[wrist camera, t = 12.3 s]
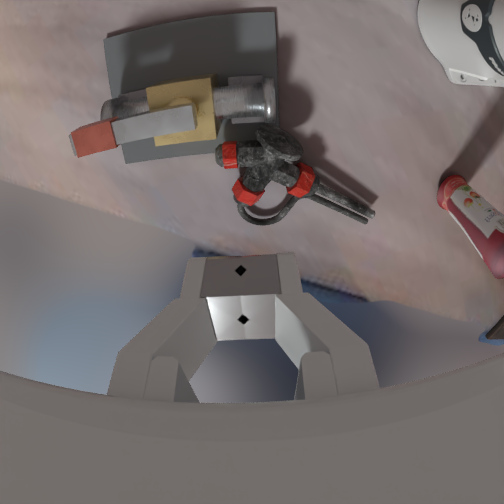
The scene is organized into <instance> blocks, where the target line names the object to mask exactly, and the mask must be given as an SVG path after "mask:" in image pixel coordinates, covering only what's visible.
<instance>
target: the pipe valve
mask: <svg viewBox="0 0 504 504" xmlns="http://www.w3.org/2000/svg"><path fill="white" fill-rule="evenodd" d="M228 84H229V86H224V87H218V81H217V73H215V74H206V75H198V76H190V77H183V78H177V79H171V80H165V81H161V82H159V83H156V84H154V85H152V86H149V87H147V88H142V89H138V90H133V91H129V92H124V93H122V94H120V95H118V98H114V99H110V100H107V101H105V102H104V104H103V106H102V109H101V120H104V119H108V118H112V117H115V116H118V118H121V117H125V116H129V115H133V114H137V113H141V112H146V111H150V110H155V109H160V108H164V107H170V106H175V105H180V104H186V103H192V102H194V103H195V109H196V115H197V121H198V126H197V128H196V129H195V130H190V131H184V132H178V133H172V134H166V135H161V136H155V137H154V140H155V146H162V145H169V144H177V143H185V142H194V141H203V140H214V139H217V136H218V133H219V130H220V127H221V119H231V120H232V124H237V123H253V122H264V123H275V121H276V99H275V87H274V80H273V77H262V74H249V75H234V76H229V77H228Z"/></svg>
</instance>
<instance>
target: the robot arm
mask: <svg viewBox="0 0 504 504" xmlns="http://www.w3.org/2000/svg"><path fill="white" fill-rule="evenodd" d="M417 15H418V24H419V28H420V31H421V34H422V37H423V39H424V41H425V43H426V45H427V46H428V48H429V50H430V51H431V52H432V54H433V55H434V56H435V57H436V58H437V59H438V60H439V61H440V63H441V64H442V65H443V67H444V69H445V72H446V74H447V76H448V78H449V80H450V81H451V82H452V83H454V84H467V85H484V86H497V87H504V0H420V1H419V4H418V12H417ZM461 75H462V78H461V77H460V76H461ZM267 338H268V339H270V338H275V339H276V341H277V342H278V343H279V345H280V346H281V347H282V348H283V350H284V351H285V352H286V354H287V355H288V356H289V358H290V359H291V360H292V361H293V363H294V364H295V365H296V366H297V368H298V369H299V374H298V380H297V387H296V393H295V398H294V400H292V401H278V402H261V403H200V402H199V400H198V398H197V397H196V395H195V393H194V391H193V389H192V387H191V385H190V383H189V380H190V379H191V378H192V376H193V375H194V373H195V372H196V371H197V369H198V368H199V366H200V365H201V364H202V362H203V361H204V359H205V358H206V357H207V355H208V354H209V353H210V351H211V350H212V348H213V347H214V346H215V344H216V343H217V341H221V340H240V339H267ZM0 504H504V353H502V354H500V355H497V356H495V357H492V358H489V359H486V360H484V361H481V362H478V363H475V364H472V365H469V366H466V367H463V368H460V369H456V370H453V371H450V372H447V373H443V374H440V375H436V376H432V377H428V378H424V379H421V380H417V381H412V382H408V383H404V384H400V385H395V386H391V387H385V388H380V387H379V383H378V380H377V376H376V372H375V368H374V365H373V361H372V358H371V354H370V351H369V347H368V344H367V343H365V342H364V341H363V340H362V339H361V338H360V337H359V336H357V335H356V334H355V333H354V332H353V331H352V330H351V329H349V328H348V327H347V326H346V325H345V324H344V323H343V322H341V321H340V320H339V319H338V318H337V317H336V316H334V315H333V314H332V313H331V312H330V311H329V310H327V309H326V308H325V307H324V306H323V305H322V304H321V303H319V302H318V301H317V300H316V299H315V298H314V297H313V296H311V295H310V294H309V293H303V291H302V286H301V281H300V276H299V271H298V266H297V261H296V256H295V253H294V252H288V253H276V254H267V255H251V256H223V257H200V258H190V259H189V260H188V263H187V267H186V271H185V276H184V280H183V286H182V290H181V294H180V299H174V300H173V301H172V302H171V303H170V304H169V305H168V306H167V307H165V308H164V309H163V310H162V312H160V313H159V314H158V315H157V316H156V317H155V318H154V319H153V320H152V321H151V322H150V323H149V324H148V325H146V326H145V327H144V328H143V329H142V330H141V331H140V332H139V333H138V334H137V335H136V336H135V337H134V338H133V339H132V340H131V341H130V342H129V343H128V344H127V345H126V346H124V347H123V348H122V349H121V350H120V351H119V352H118V355H117V359H116V362H115V366H114V369H113V373H112V377H111V380H110V385H109V388H108V392H107V395H104V394H97V393H91V392H85V391H80V390H74V389H70V388H64V387H60V386H55V385H51V384H47V383H42V382H38V381H34V380H30V379H27V378H23V377H19V376H16V375H13V374H9V373H6V372H3V371H0Z"/></svg>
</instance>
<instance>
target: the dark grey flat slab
mask: <svg viewBox="0 0 504 504" xmlns="http://www.w3.org/2000/svg"><path fill="white" fill-rule="evenodd" d="M485 336H486V338H487V339H504V316H503V317H502V318H501V319H500V320H499V321H498V322H497V324H496V325H495V326H494V327H493V328H492V329H491V330H490V331H489V332H488V333H487V334H486V335H485Z"/></svg>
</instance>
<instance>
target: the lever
mask: <svg viewBox="0 0 504 504" xmlns="http://www.w3.org/2000/svg"><path fill="white" fill-rule="evenodd" d="M197 126H198V121H197V115H196V109H195V103H194V102H192V103H186V104H180V105H175V106H170V107H164V108H160V109H155V110H150V111H146V112H141V113H137V114H133V115H129V116H125V117H121V118H118V116H115V117H112V118H108V119H104V120H101V121H98V122H94V123H91V124H88V125H85V126H82V127H79V128H78V129H76V130H74V131H73V132H71V134H70V135H69V138H70V142H71V145H72V148H73V152H74V155H75V156H76V155H77V156H78V158H79V157H82V156H86V155H89V154H93V153H97V152H101V151H105V150H109V149H113V148H116V147H118V146H119V145H120V144H122V143H127V142H131V141H136V140H141V139H145V138H150V137H155V136H161V135H166V134H172V133H178V132H184V131H190V130H195V129H196V128H197Z"/></svg>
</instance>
